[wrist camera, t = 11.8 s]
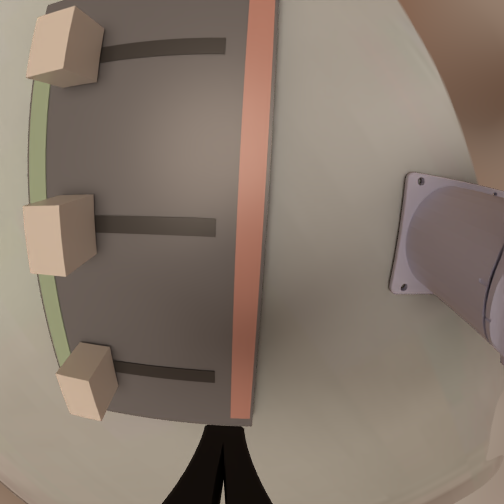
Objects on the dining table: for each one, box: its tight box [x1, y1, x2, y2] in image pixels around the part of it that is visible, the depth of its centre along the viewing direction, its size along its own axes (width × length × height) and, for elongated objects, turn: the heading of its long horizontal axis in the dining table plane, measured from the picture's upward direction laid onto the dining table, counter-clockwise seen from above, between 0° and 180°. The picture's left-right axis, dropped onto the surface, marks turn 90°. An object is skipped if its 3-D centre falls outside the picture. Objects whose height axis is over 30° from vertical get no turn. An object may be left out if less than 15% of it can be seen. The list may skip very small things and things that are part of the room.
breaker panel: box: [28, 0, 279, 426], centre depth 18 cm, size 15×30×2 cm, turn 177°
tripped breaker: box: [26, 6, 104, 88], centre depth 12 cm, size 2×4×4 cm
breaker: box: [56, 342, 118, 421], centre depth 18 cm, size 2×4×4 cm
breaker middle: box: [23, 194, 97, 277], centre depth 15 cm, size 2×4×4 cm
